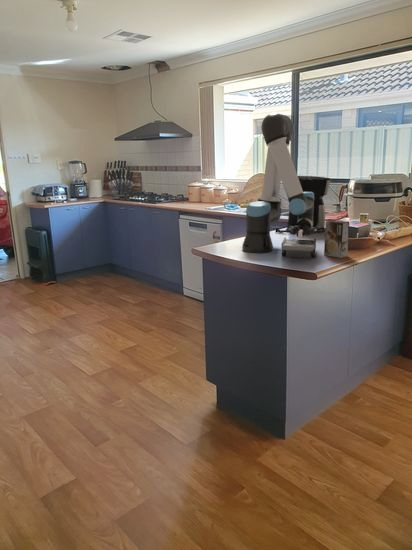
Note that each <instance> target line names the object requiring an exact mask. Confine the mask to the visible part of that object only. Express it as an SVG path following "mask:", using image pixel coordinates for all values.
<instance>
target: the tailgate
mask: <svg viewBox="0 0 412 550" xmlns="http://www.w3.org/2000/svg"><path fill="white" fill-rule="evenodd" d="M313 248H314V245H299V244H283V245H282V246H281V251H282V250H294V251H313Z"/></svg>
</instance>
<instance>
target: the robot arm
mask: <svg viewBox="0 0 412 550" xmlns="http://www.w3.org/2000/svg"><path fill="white" fill-rule="evenodd" d="M294 130H295V124H294V122H293V120H292V119H291V118H290V117H289V116H288V115H286V114H280V113H278V112H271V113H269V114H268V115H266V116H265V117H264V118H263V120H262V123H261V134H262V136H263V140H264V142H265V144H266V145H265V146H266V147H267V153H266V160H265V167H264V174H263V180H262V182H263V183H262V191H261V195H260V196H258V197H257V198H258V199H257V201H253V202H252V201H251V202H250V203H247V205H246V209H245V213H246V217H245V219H246V220H245V221H246V222H245V230H246V231H245V237H244V239H243V242H242V247H241V248H242V251H243V252H246V253H252V254H253V253H254V254H260V253H261V254H262V253H263V254H264V253H269V252H272V251H273V250H274V248H273V247H274V244H273V241H272V238H271V226H272V225H275V224H276V223H277V222H278V221H279V220H281V217H282V212H283V211H282V208H281V202H282V200H281V198H280V197H279V195H280V188H281V183H282V185H283V189H284V191H285V195H286V197H287V199H288V210H289V211H290V212H291V213H292V214H294V215H298V221H297V223H296V226H294V227H293V226H289V232H288V233H290V234H292V235H293V236H294V235H296V237H297V239H302V238H303V237H304V236H311V235H313V234H317V233H318V232H317V227H312V226H313V210H314V193H313V192H303V190H302V187H301V184H300V182H299V179H298V176H299V175H298V174H297V170H296V168H295V165H294V161H293V158H292V156H291V153H290V151H289V148H288V147H289V146H290V140H291V138H292V136H293V134H294ZM316 232H317V233H316Z"/></svg>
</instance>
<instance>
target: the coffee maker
mask: <svg viewBox="0 0 412 550" xmlns="http://www.w3.org/2000/svg"><path fill="white" fill-rule="evenodd" d="M297 176H298V179H299V182H300V184H301V187H302V190H303V192H313V193H314V210H313V226H312V227H317V233H322V232H321V231H325V228H326V210H325V204H324V200H323V197H324V196H326V195H328V192H329V188H330V184H331V178H330V177H325V176H318V175H317V176H316V175H314V176H313V175H297ZM297 221H298V215H294V214H292V213H291V212H290V211H289V212H288V219H287V227H286V229H284V230H283V229H282V230H281V229H279V227H278V228H277V227H276V228H275V233H290V232H289V226H293V227H294V226H296V223H297Z"/></svg>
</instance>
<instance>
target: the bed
mask: <svg viewBox="0 0 412 550" xmlns="http://www.w3.org/2000/svg"><path fill="white" fill-rule="evenodd" d="M283 244H299V245H314V248H313V251H294V250H282V249H281V257H285V258H286V257H287V258H302V259H304V258H305V259H312V258H316V248H317V238H314V239H298V238H297V239H291V238H287V237H284V238H283V240H282V241H281V245H280V246H281V247H282V245H283Z"/></svg>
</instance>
